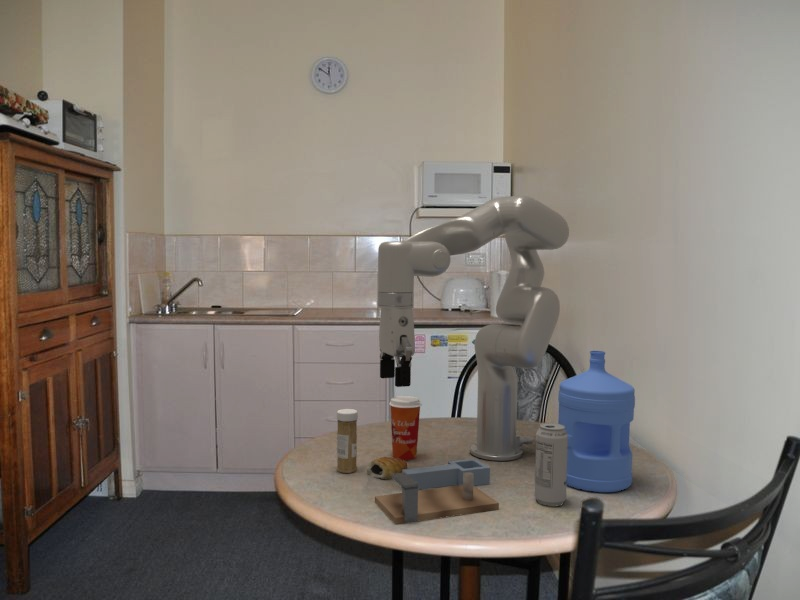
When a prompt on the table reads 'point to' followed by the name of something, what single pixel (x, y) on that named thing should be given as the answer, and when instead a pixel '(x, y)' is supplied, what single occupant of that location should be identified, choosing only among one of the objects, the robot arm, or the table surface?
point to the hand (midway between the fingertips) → (394, 381)
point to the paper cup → (405, 426)
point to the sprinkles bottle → (347, 440)
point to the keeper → (408, 496)
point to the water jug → (597, 428)
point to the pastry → (386, 467)
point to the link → (449, 474)
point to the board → (440, 501)
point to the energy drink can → (551, 464)
